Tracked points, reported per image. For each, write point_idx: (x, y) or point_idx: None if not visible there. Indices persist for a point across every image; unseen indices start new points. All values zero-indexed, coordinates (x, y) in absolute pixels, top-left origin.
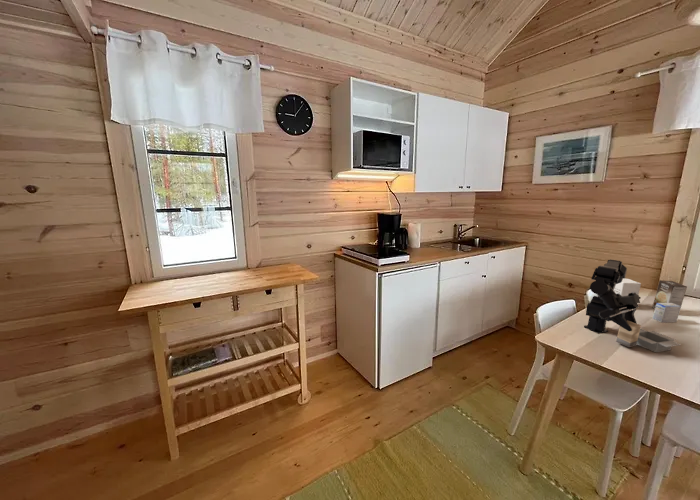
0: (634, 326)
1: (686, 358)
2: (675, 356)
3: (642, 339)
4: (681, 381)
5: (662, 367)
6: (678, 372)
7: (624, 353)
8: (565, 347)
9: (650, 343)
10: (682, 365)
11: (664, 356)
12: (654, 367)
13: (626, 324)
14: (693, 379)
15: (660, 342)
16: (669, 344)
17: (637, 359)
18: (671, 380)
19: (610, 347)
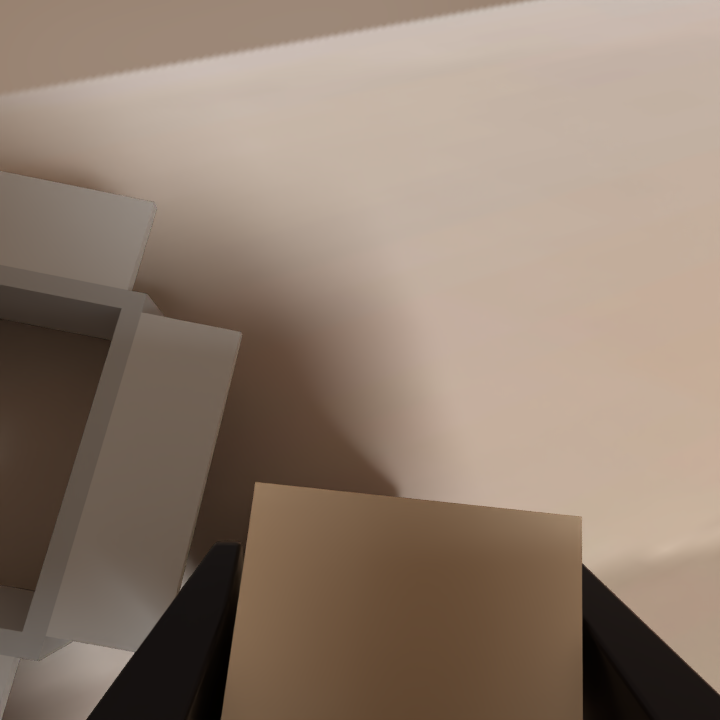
0: (511, 536)
1: (29, 141)
2: None
3: (209, 455)
4: (627, 46)
5: (516, 187)
6: (476, 96)
7: (583, 485)
8: None
9: (237, 350)
10: (272, 116)
11: (207, 257)
12: (594, 219)
13: (700, 686)
14: (489, 12)
15: (72, 287)
16: (31, 207)
17: (587, 357)
18: (692, 85)
19: None
